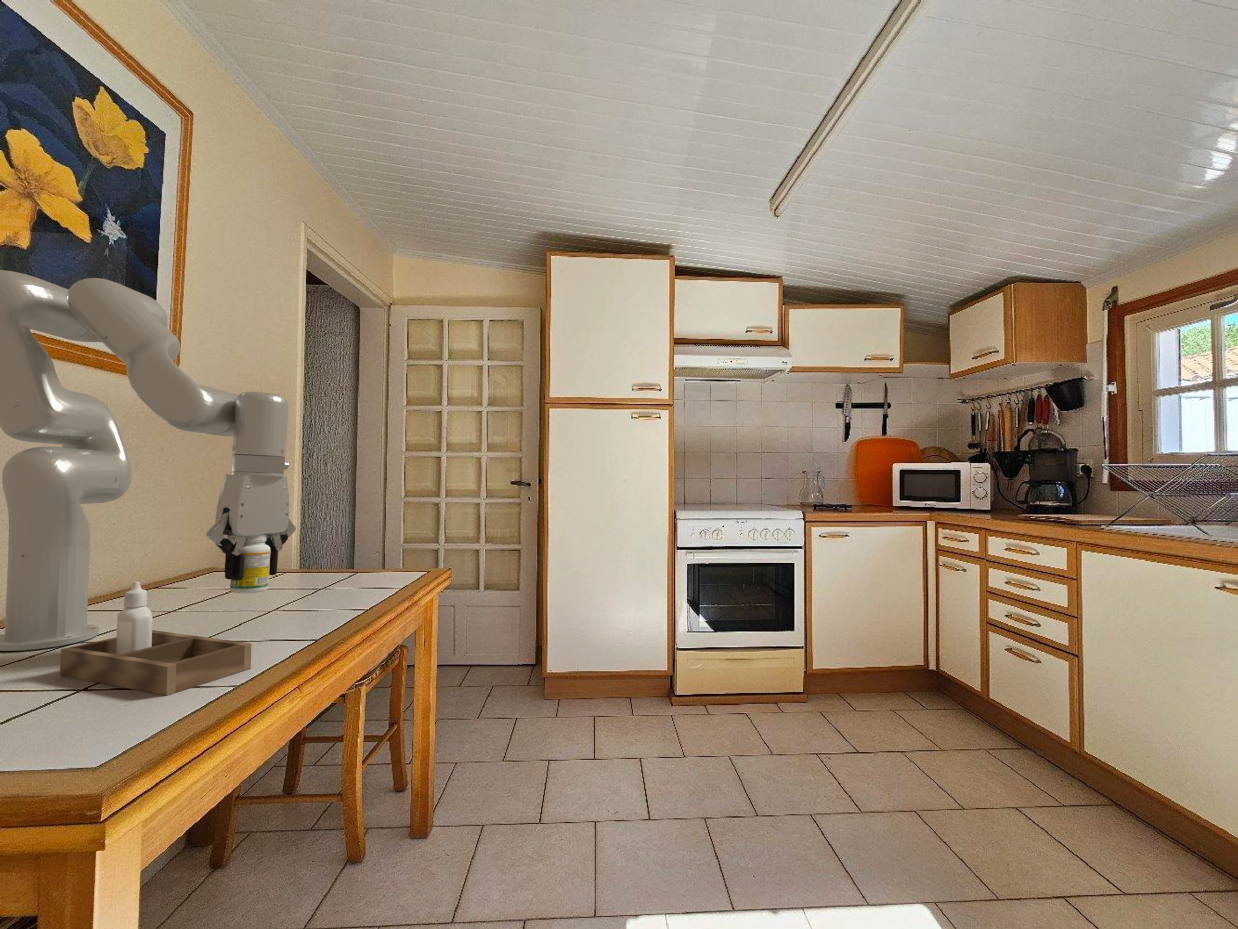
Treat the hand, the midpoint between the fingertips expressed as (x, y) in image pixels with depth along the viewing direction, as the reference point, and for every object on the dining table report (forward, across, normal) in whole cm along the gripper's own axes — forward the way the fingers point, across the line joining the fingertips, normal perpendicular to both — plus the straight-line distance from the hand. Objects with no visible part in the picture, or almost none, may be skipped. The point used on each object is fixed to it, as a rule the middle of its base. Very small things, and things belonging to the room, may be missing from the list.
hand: (251, 575), depth 95 cm
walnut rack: (+11, +16, +3) cm, 19 cm away
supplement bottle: (+3, 0, 0) cm, 3 cm away
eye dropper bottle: (+11, +16, -2) cm, 19 cm away
